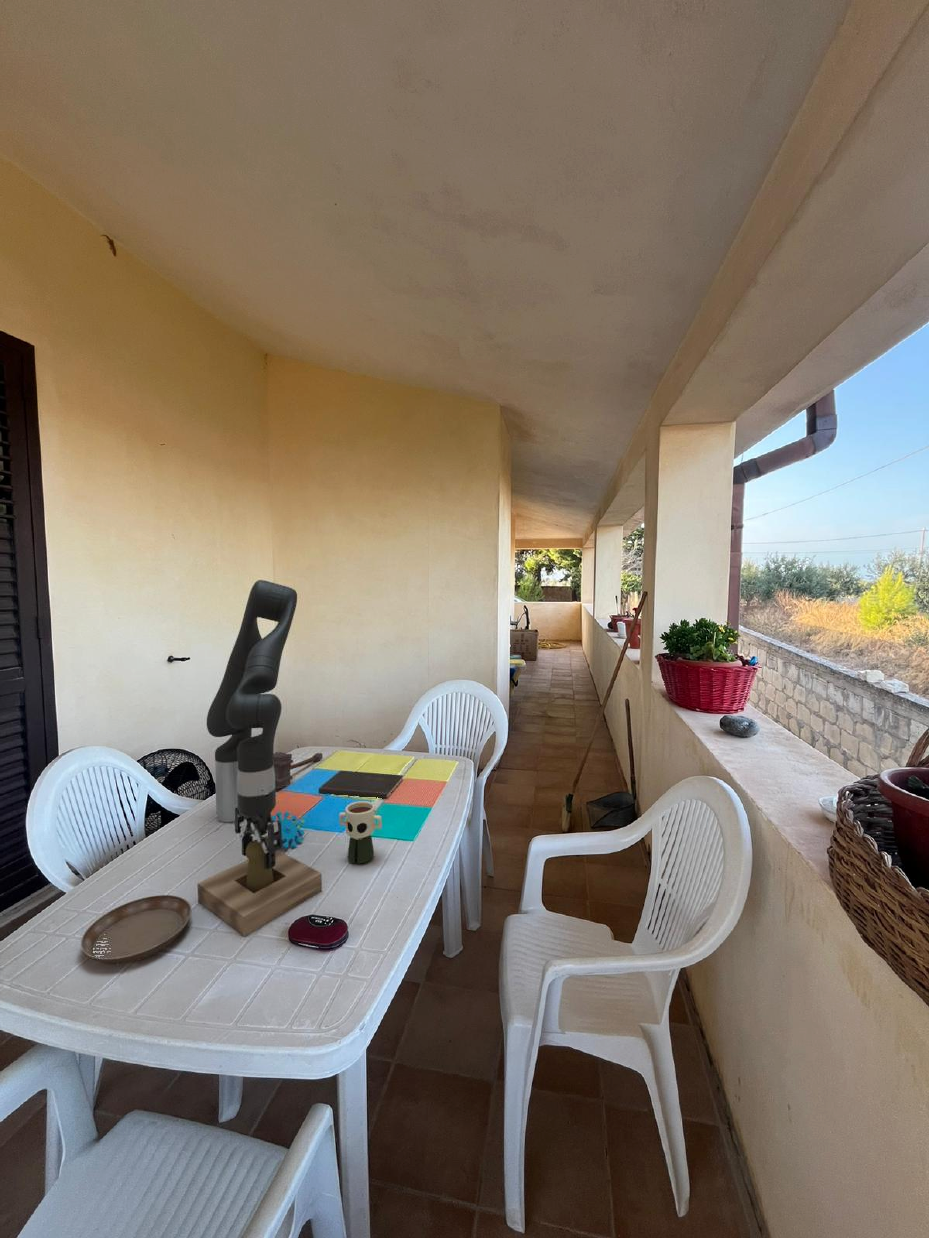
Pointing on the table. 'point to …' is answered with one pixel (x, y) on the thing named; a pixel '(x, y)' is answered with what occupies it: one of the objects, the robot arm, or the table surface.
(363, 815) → the character mug
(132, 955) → the plant saucer
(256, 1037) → the table surface
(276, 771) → the hammer
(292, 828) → the gear
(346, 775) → the hardcover book
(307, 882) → the socket block
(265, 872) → the olive knobbed peg
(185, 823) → the table surface
